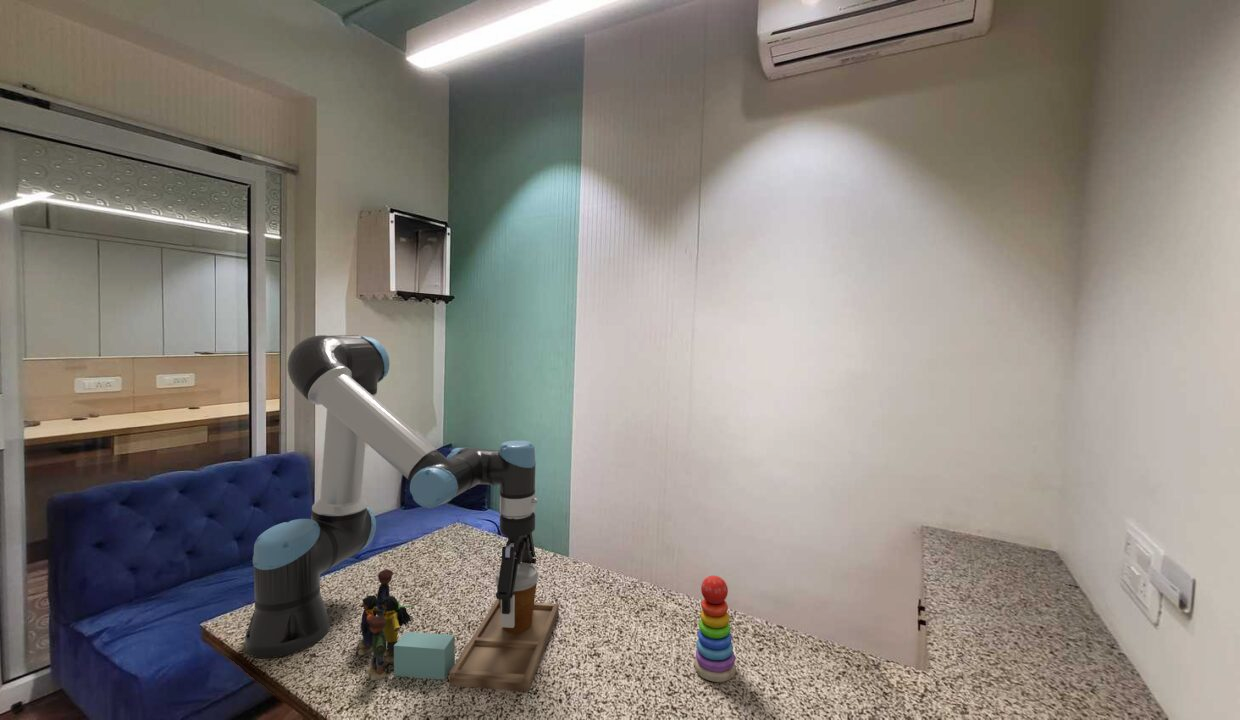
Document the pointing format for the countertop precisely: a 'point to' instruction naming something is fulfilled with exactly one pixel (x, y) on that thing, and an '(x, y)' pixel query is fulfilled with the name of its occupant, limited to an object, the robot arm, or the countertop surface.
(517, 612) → the disposable coffee cup
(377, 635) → the doll family
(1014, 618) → the countertop surface
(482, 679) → the divided compartment tray
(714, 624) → the stacking toy
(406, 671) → the teal rectangular block
